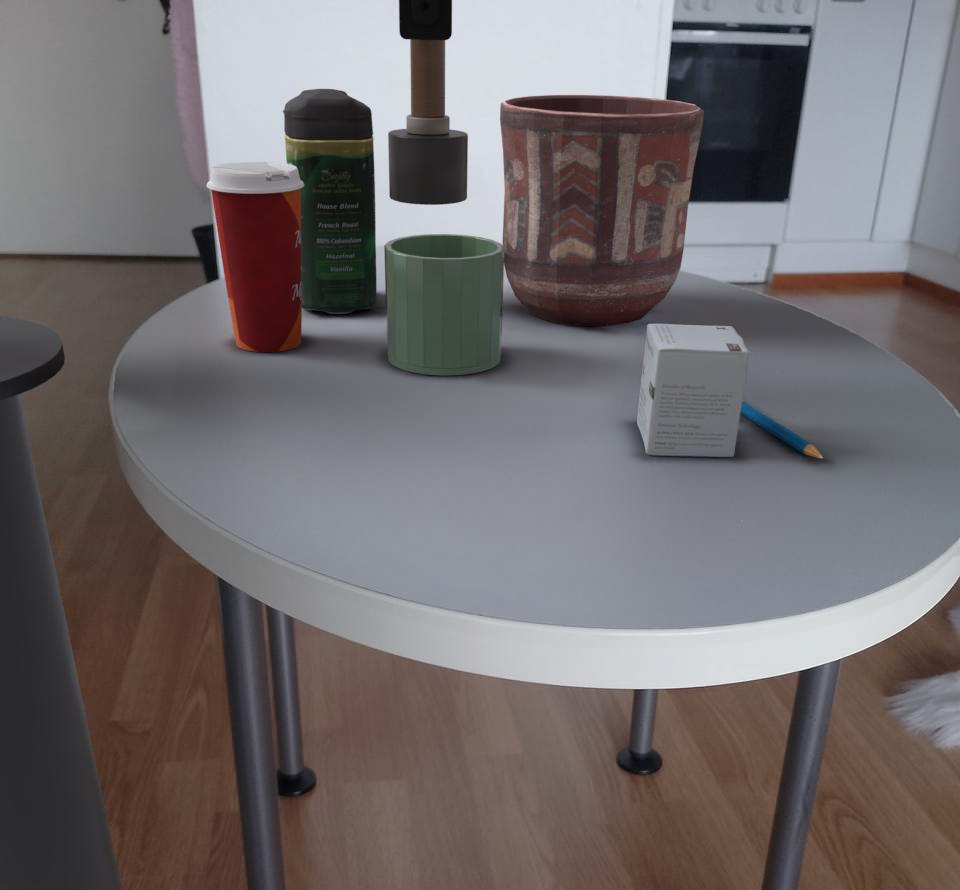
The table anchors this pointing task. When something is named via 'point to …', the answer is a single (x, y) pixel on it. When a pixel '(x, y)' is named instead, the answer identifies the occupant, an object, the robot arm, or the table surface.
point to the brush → (428, 137)
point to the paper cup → (260, 251)
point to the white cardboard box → (691, 390)
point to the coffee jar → (334, 198)
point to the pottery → (595, 203)
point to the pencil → (779, 431)
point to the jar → (444, 303)
